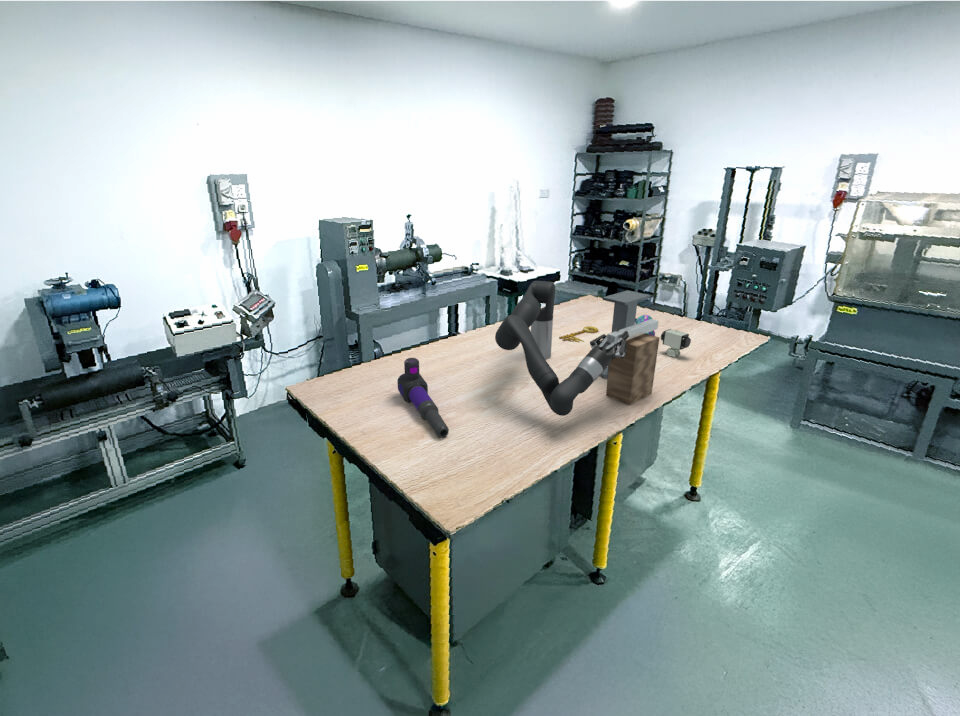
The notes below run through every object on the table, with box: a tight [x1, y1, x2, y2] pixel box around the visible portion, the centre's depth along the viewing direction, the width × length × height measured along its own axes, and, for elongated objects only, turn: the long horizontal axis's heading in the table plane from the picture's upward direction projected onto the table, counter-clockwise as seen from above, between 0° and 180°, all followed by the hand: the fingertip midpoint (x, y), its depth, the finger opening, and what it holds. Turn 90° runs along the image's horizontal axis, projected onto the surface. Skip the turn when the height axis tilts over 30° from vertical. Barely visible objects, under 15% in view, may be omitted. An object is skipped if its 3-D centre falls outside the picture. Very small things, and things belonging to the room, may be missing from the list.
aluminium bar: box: [606, 318, 660, 344], centre depth 170 cm, size 26×3×3 cm, turn 130°
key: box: [558, 325, 599, 343], centre depth 241 cm, size 11×25×2 cm, turn 134°
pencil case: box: [635, 314, 656, 336], centre depth 236 cm, size 21×9×10 cm, turn 165°
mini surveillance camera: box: [660, 328, 692, 359], centre depth 214 cm, size 6×12×12 cm, turn 38°
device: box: [397, 357, 450, 438], centre depth 165 cm, size 9×36×15 cm, turn 25°
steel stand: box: [599, 290, 651, 380], centre depth 192 cm, size 16×10×32 cm, turn 130°
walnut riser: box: [605, 333, 661, 406], centre depth 177 cm, size 14×10×22 cm
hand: (622, 331), depth 166 cm, fingers closed on aluminium bar, 3 cm apart
